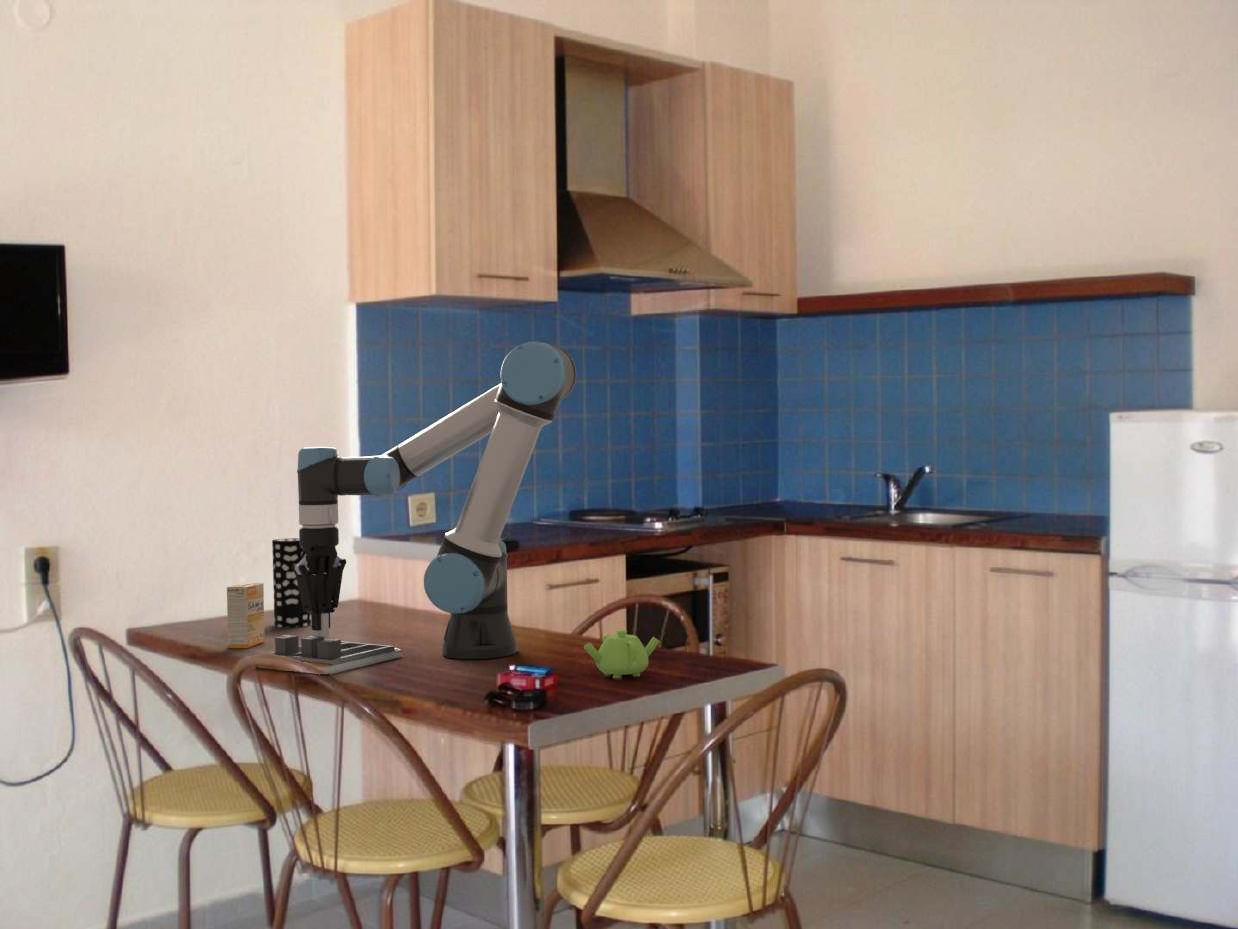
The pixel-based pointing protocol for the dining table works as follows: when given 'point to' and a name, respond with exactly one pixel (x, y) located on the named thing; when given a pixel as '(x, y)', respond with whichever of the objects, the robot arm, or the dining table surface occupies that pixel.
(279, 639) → the breaker
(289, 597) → the spotted tube
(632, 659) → the teapot
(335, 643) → the breaker
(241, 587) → the supplement box
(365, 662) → the panel
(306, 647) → the breaker mid
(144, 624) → the dining table surface
